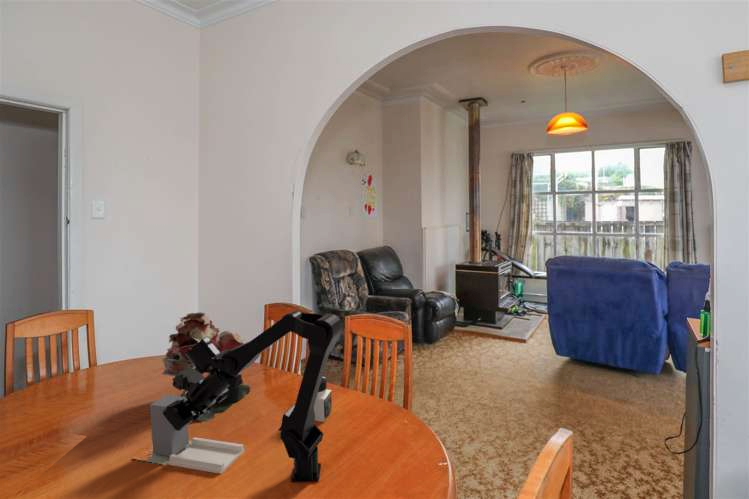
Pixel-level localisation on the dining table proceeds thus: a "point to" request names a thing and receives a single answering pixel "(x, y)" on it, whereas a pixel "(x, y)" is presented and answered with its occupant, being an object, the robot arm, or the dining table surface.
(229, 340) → the rose bouquet
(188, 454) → the off-white chute
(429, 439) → the dining table surface
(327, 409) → the medicine bottle
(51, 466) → the dining table surface
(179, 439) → the gray block
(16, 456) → the dining table surface
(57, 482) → the dining table surface
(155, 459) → the sage mat
